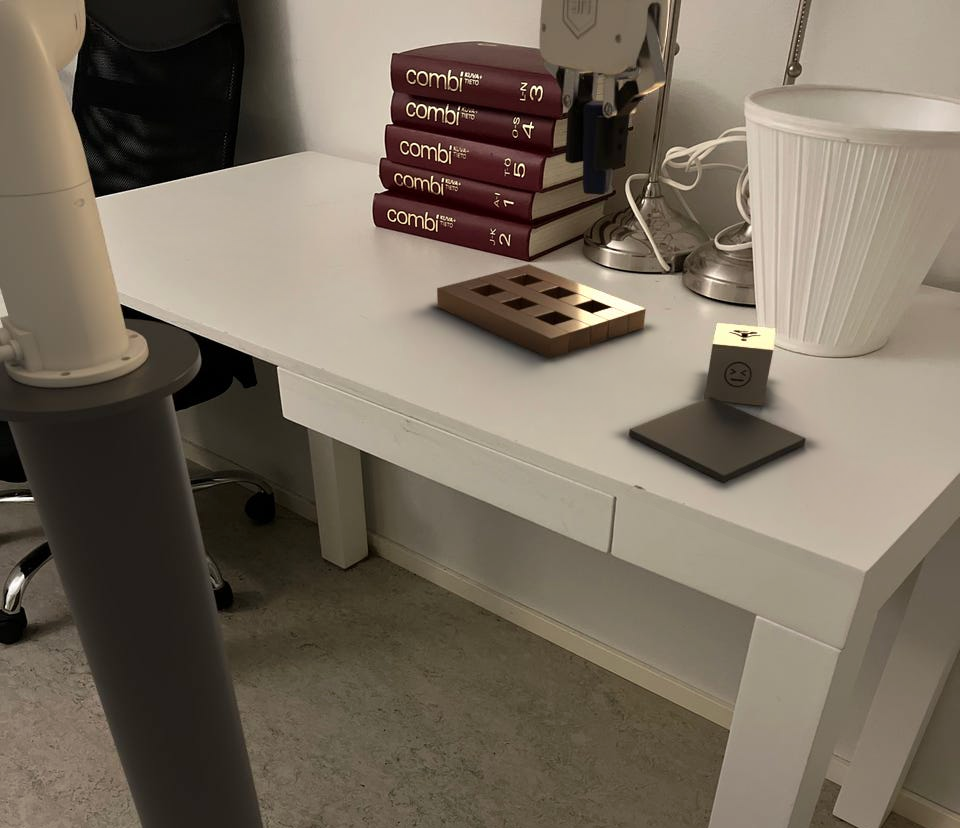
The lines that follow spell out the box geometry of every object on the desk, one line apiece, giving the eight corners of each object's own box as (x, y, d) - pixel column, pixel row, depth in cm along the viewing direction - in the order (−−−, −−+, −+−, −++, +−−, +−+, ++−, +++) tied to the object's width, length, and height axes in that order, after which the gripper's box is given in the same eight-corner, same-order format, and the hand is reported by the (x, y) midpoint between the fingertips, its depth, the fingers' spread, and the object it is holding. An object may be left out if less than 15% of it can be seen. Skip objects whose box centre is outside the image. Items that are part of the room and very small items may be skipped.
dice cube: (765, 382, 87) (775, 328, 84) (762, 405, 83) (773, 349, 80) (709, 376, 88) (717, 322, 85) (704, 399, 84) (712, 343, 81)
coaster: (722, 482, 73) (724, 475, 73) (628, 435, 79) (629, 428, 79) (804, 444, 78) (806, 437, 77) (709, 403, 84) (710, 396, 84)
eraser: (590, 186, 84) (591, 98, 80) (614, 188, 83) (616, 99, 79) (580, 193, 83) (580, 104, 78) (604, 195, 82) (605, 105, 77)
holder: (549, 359, 92) (550, 338, 90) (437, 306, 103) (436, 287, 101) (644, 328, 98) (646, 308, 97) (528, 282, 109) (529, 264, 108)
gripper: (503, -113, 73) (499, 153, 85) (662, -110, 63) (633, 191, 75) (575, -113, 77) (562, 142, 88) (736, -111, 67) (697, 176, 78)
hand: (595, 162), depth 81 cm, fingers closed on eraser, 2 cm apart
